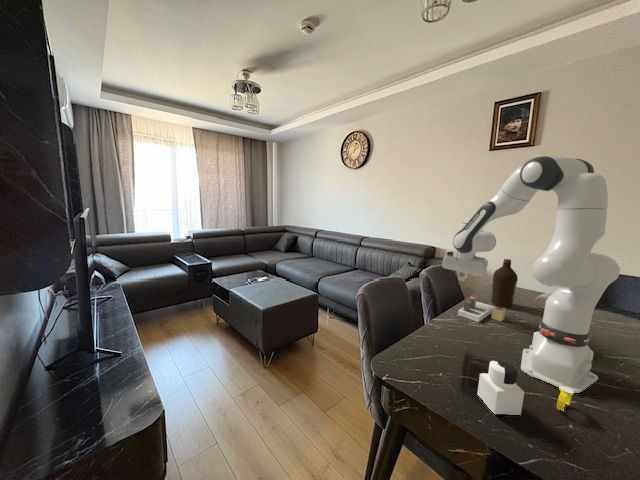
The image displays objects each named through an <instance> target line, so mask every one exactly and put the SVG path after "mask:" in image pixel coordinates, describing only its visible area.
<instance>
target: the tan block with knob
mask: <svg viewBox="0 0 640 480" xmlns="http://www.w3.org/2000/svg"><path fill="white" fill-rule="evenodd" d="M505 316H506V309H505V308H504V307H500V306H494V308H493V309H492V313H491V316H490V317H491V319H492V320H495V321H497V322H502V321H504V320H505Z"/></svg>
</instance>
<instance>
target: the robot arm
mask: <svg viewBox="0 0 640 480" xmlns="http://www.w3.org/2000/svg"><path fill="white" fill-rule="evenodd" d="M538 191H545V192H549V191H553V192H554V193H555V194H556V196H557V206H556V214H555V215H556V216H555V224H554V230H553V231H554V232H553V235H552V237H551V240H550V242H549V244H548V246H547V248H546V249H545V251H544V253H542V255H540V256H539V257H537V258H536V260H534V262H533V263H532V275H533V276H534V279H535V280H536V281H538V282H539V283H541V284H542V285H545V286H547V287H553V288H556V289H555V291H554V292H553V293H551V294H552V295H550V296H549V297H548V298H547V300H546V303H545V309H543V317H542V319H541V320H540V323H539V328H538V330H537V331H535V332H533V336H532V342H531V343H532V344H529V345H528V348H523V350H522V354H521V355H522V356H521V362H520V363H521V364H520V370H521V371H522V372H523V373H525V374H526V373H527V375H529V376H530V377H532V378H533V377H535V378H537V379H540V380H542V381H545V382H547V383H550V384H552V385H554V386H556V387H558V388H559V387H560V386H565V387H568V388H570V389H571V390H573V391H574V393H580V392H582V391H583V390H585V389H586V388H587V387H589V386H590V385H591V384H593V383H594V382H595V383H597V382H598V381H599V376H598V375H597V374H595V373H594V372H592V364H593V362H594V360H593V358H594V351H593V350H592V349H591V348H590V346H589V343H590V340H591V332H590V327H591V326H590V325H591V323H592V322H591V321H592V318H593V314H594V310H595V308H596V306H597V304H598V302H599V301H600V299H601V297H602V296H603V294H604V293H605V291H606V289H608V287H609V286H610V285H611V284H612V283H614V282H615V281H616V280H617V279H618V278H619V276H620V273H621V270H620V269H621V268H620V266H619V263H618V262H617V261H616V260H615V259H613V258H612V257H610V256H608V255H604V254H599V253H596V252H592V250H593V248H594V247H595V245H596V243H597V242H598V241H599V240H601V239H602V238H603V237H604V235H605V233H606V224H607V217H608V216H607V215H608V207H609V206H608V204H609V197H608V196H609V195H608V193H609V192H608V185H607V181H606V178H605V177H604V176H603V175H601V174H598V173H595V168H594V167H593V165H592V164H591V163H590V162H589V161H586V160H583V159H581V158H572V157H566V156H548V155H543V156H537V157H534V158H533V157H532V158H531V159H530V160H527V161H526V162H525V163H524V164H523V165H521V166H519V167H517V168H516V169H515V170H514V171H513V172H512V173H511V174H510V176H508V177H507V179H506V180H505V181H504V183H503V184H502V185H501V187H500V189H499V190H498V191H497V192H496V193H495V195H493V197H492V198H491V199H489V200H488V201H487V202H485V203H484V204H483V205H482V206H480V207H479V208H478V210H477V211H476V212H475V214H473V216H472V217H471V218H470V219H469V220H468V222H463V223H461V224H460V225H459V227H458V230H457V231H458V232H456V234H455V235H454V236H453V239H452V245H453V247H454V249H451V250H447V251H445V253H444V254H445V256H443V259H442V264H441V266H442V268H443V269H446V270H450V271H455V272H456V274H457V277H458V279H457V280H458V281H462V282H466V280H467V277H469V275H472V276H476V277H479V278H484V277H486V276H487V272H488V269H487V268H488V265H489V261H488V260H487V259H486V258H485V257H480V256H476V253H487V252H491V251H492V250H494V248H495V247H496V244H497V239H496V236H495V235H494V234H493V233H492V232H489V231H487V230H485V229H484V228H485V226H486V225H487V224H488V223H490V222H492V221H494V220H497V219H499V218H503V217H508V216H512V215H515V214H518V213H520V212H521V211H522V210H523V209H524V208H525V207H526V206H527V205H528V204H529V203H530V202H531V200H532V199H533V198H534V196H535V195H536V193H537V192H538ZM461 273H463V274H464V276H462V275H461ZM535 378H534V379H535ZM537 379H536V380H537ZM597 380H598V381H597ZM542 381H541V382H542ZM596 381H597V382H596ZM595 383H594V384H595ZM594 384H593V385H594ZM591 386H592V385H591ZM591 386H590V387H591ZM590 387H589V388H590ZM558 388H557V389H558ZM587 389H588V388H587ZM587 389H586V390H587ZM586 390H585V391H586ZM583 392H584V391H583ZM583 392H582V393H583Z"/></svg>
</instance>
